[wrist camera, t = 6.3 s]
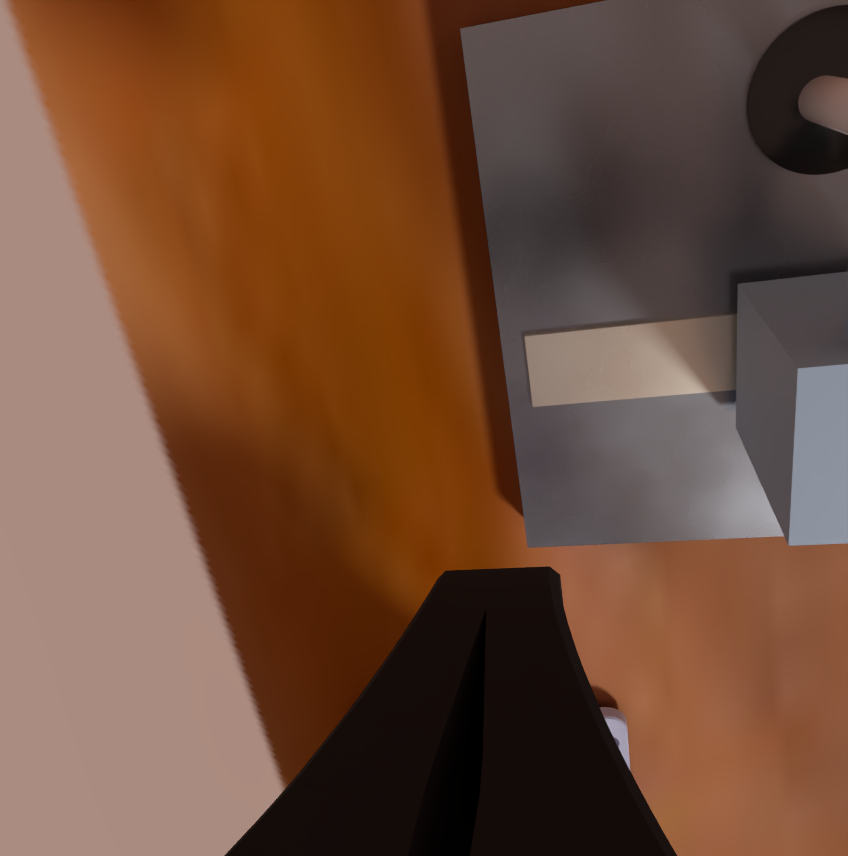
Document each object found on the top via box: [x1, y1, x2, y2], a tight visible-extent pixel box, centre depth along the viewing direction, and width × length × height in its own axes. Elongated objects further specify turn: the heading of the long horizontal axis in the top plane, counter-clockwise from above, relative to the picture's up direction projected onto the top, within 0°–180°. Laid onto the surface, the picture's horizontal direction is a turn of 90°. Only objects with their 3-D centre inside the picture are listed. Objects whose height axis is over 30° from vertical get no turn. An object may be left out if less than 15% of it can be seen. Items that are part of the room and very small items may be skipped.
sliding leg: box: [736, 75, 848, 546], centre depth 12 cm, size 7×2×4 cm, turn 10°
